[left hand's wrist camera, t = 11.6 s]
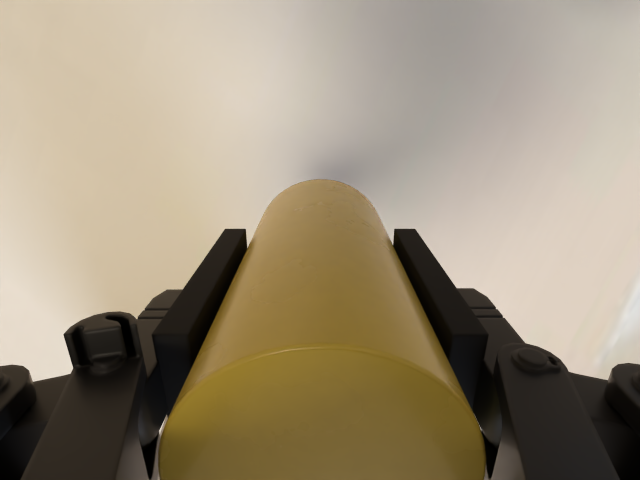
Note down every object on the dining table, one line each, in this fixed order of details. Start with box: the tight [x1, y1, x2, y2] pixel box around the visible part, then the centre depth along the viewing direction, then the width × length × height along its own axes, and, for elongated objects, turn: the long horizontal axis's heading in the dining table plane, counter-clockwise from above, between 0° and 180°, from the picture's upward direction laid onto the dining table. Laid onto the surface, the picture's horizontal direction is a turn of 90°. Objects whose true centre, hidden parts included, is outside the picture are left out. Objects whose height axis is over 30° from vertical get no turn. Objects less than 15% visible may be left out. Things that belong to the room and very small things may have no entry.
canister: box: [158, 179, 486, 480], centre depth 11 cm, size 6×6×11 cm
